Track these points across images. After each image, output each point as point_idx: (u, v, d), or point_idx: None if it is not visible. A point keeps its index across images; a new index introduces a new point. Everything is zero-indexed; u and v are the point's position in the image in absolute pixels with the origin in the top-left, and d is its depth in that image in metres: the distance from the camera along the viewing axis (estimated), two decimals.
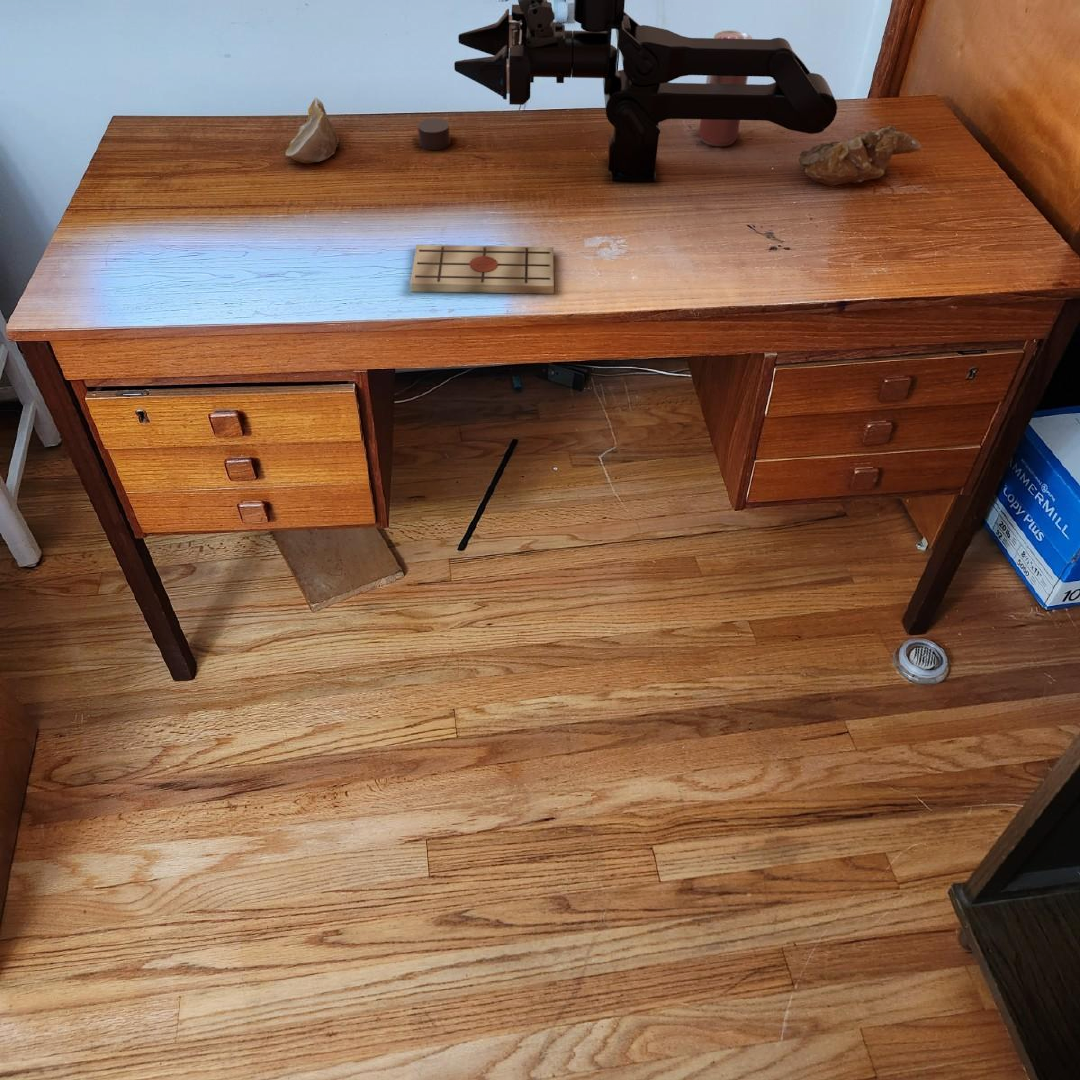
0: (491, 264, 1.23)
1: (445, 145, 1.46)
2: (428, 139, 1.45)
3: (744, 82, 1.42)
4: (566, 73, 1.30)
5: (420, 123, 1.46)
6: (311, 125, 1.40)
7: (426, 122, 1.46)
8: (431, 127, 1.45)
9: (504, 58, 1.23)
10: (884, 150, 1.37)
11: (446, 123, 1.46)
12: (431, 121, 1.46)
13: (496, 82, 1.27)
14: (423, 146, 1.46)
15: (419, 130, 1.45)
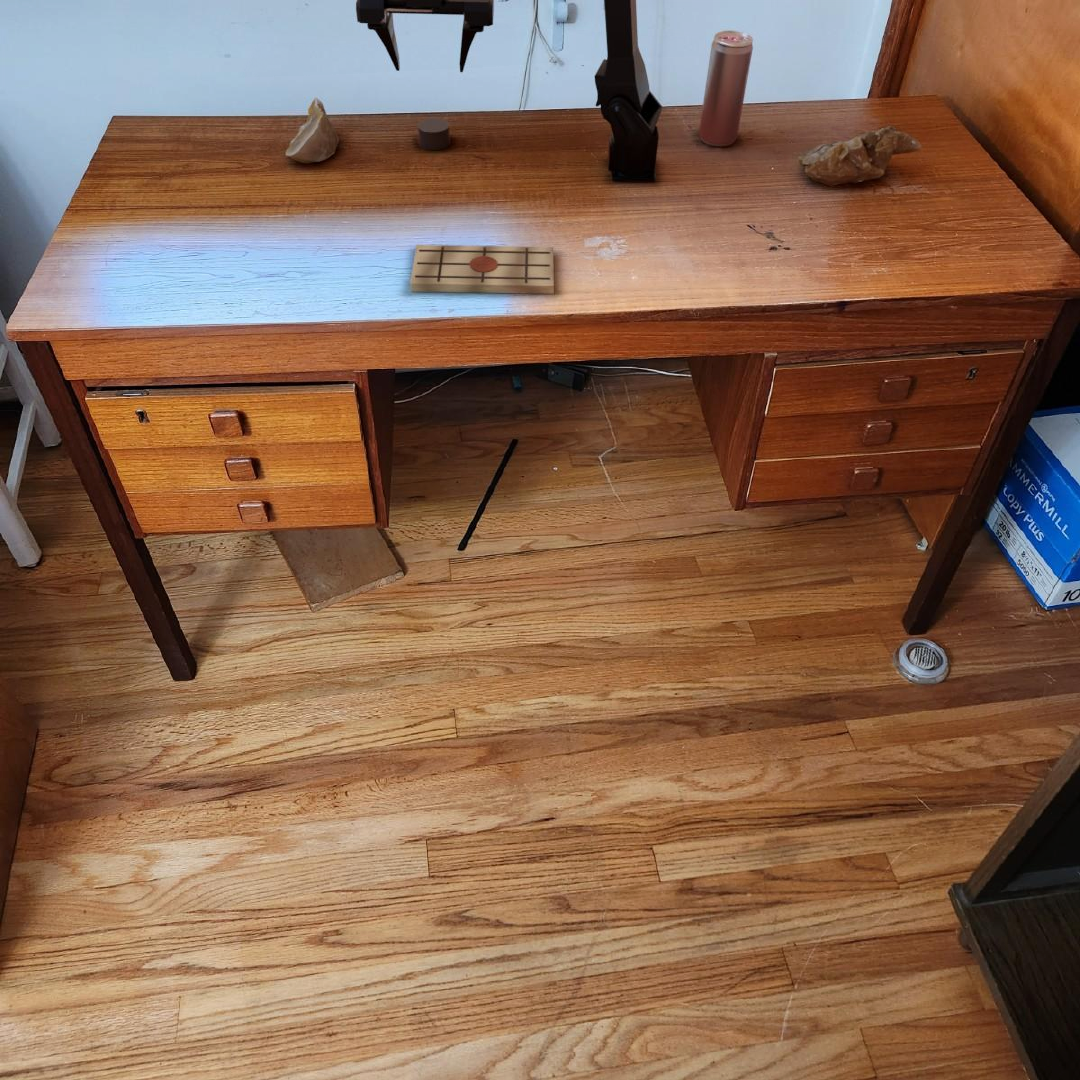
0: (491, 264, 1.23)
1: (445, 145, 1.46)
2: (428, 139, 1.45)
3: (744, 82, 1.42)
4: None
5: (420, 123, 1.46)
6: (311, 125, 1.40)
7: (426, 122, 1.46)
8: (431, 127, 1.45)
9: None
10: (884, 150, 1.37)
11: (446, 123, 1.46)
12: (431, 121, 1.46)
13: None
14: (423, 146, 1.46)
15: (419, 130, 1.45)
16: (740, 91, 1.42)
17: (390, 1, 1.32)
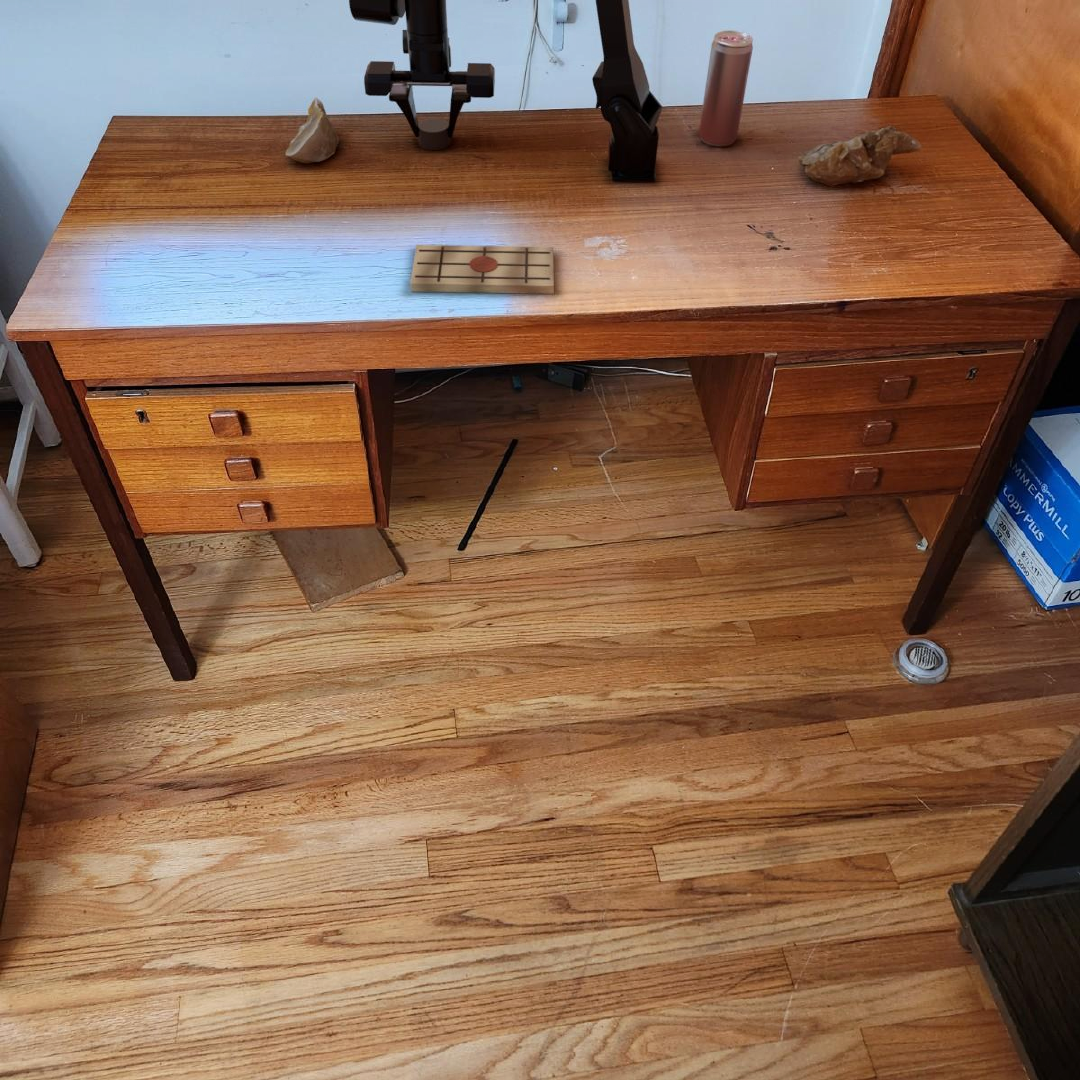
0: (491, 264, 1.23)
1: (445, 145, 1.46)
2: (428, 139, 1.45)
3: (744, 82, 1.42)
4: (409, 36, 1.34)
5: (420, 123, 1.46)
6: (311, 125, 1.40)
7: (426, 122, 1.46)
8: (431, 127, 1.45)
9: None
10: (884, 150, 1.37)
11: (446, 123, 1.46)
12: (431, 121, 1.46)
13: None
14: (423, 146, 1.46)
15: (419, 130, 1.45)
16: (740, 91, 1.42)
17: (396, 74, 1.39)
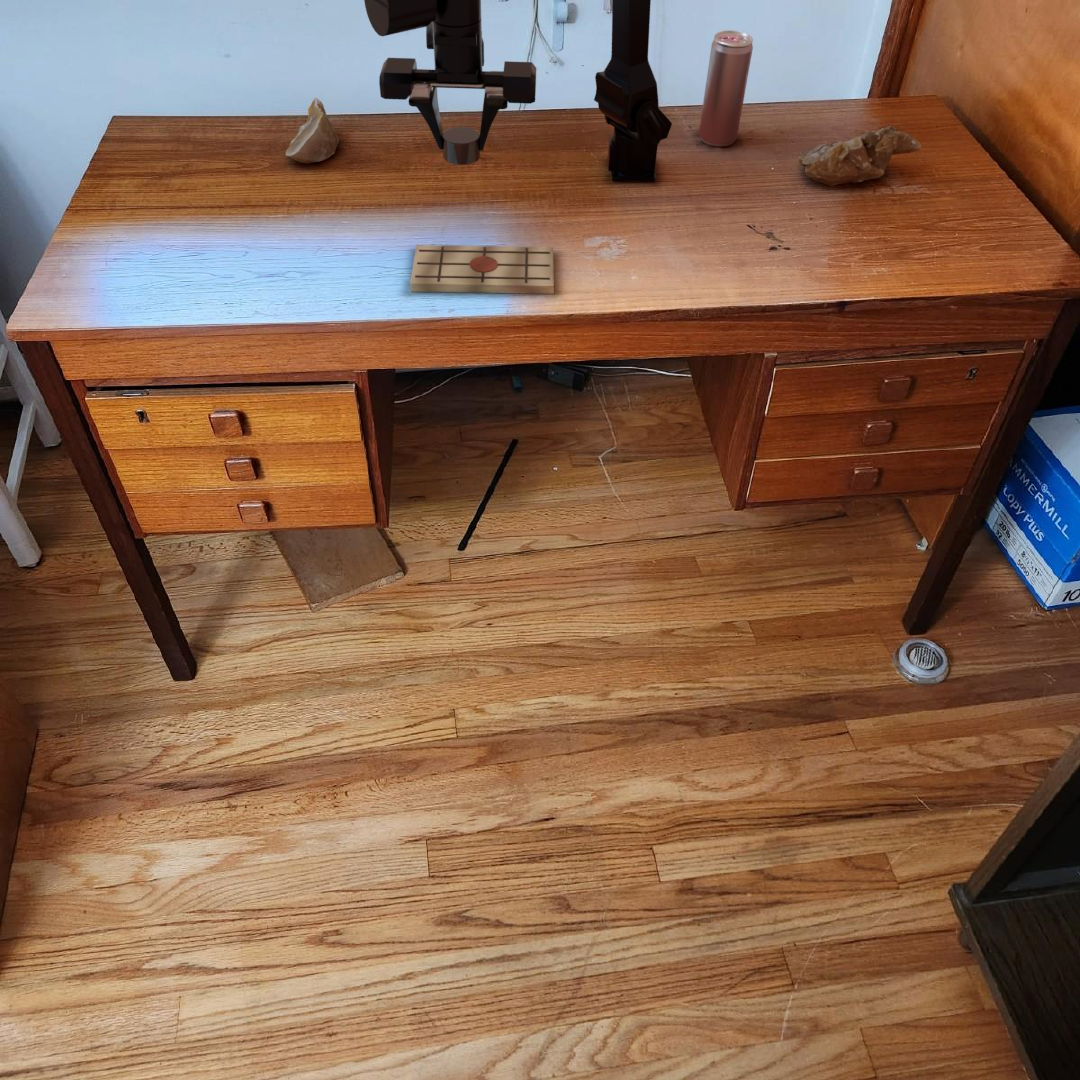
0: (491, 264, 1.23)
1: (474, 159, 1.22)
2: (454, 152, 1.21)
3: (744, 82, 1.42)
4: (435, 28, 1.11)
5: (445, 132, 1.22)
6: (311, 125, 1.40)
7: (452, 131, 1.22)
8: (458, 138, 1.21)
9: None
10: (884, 150, 1.37)
11: (476, 133, 1.22)
12: (458, 130, 1.22)
13: None
14: (448, 160, 1.22)
15: (444, 141, 1.21)
16: (740, 91, 1.42)
17: (418, 74, 1.15)
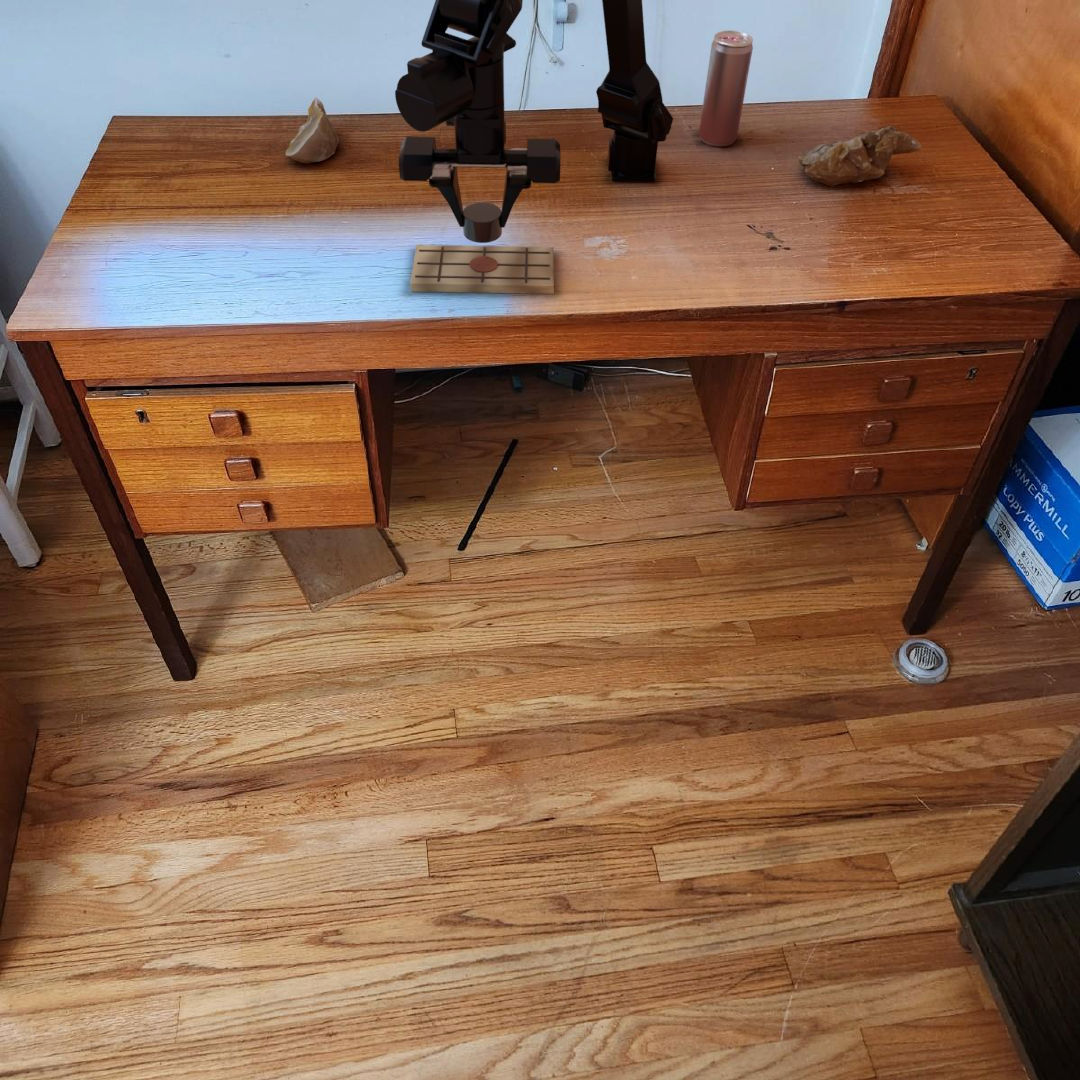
0: (491, 264, 1.23)
1: (496, 236, 1.18)
2: (476, 231, 1.17)
3: (744, 82, 1.42)
4: None
5: (466, 210, 1.18)
6: (311, 125, 1.40)
7: (473, 208, 1.18)
8: (479, 216, 1.17)
9: None
10: (884, 150, 1.37)
11: (498, 210, 1.18)
12: (479, 206, 1.18)
13: None
14: (469, 238, 1.18)
15: (465, 219, 1.17)
16: (740, 91, 1.42)
17: (439, 154, 1.12)
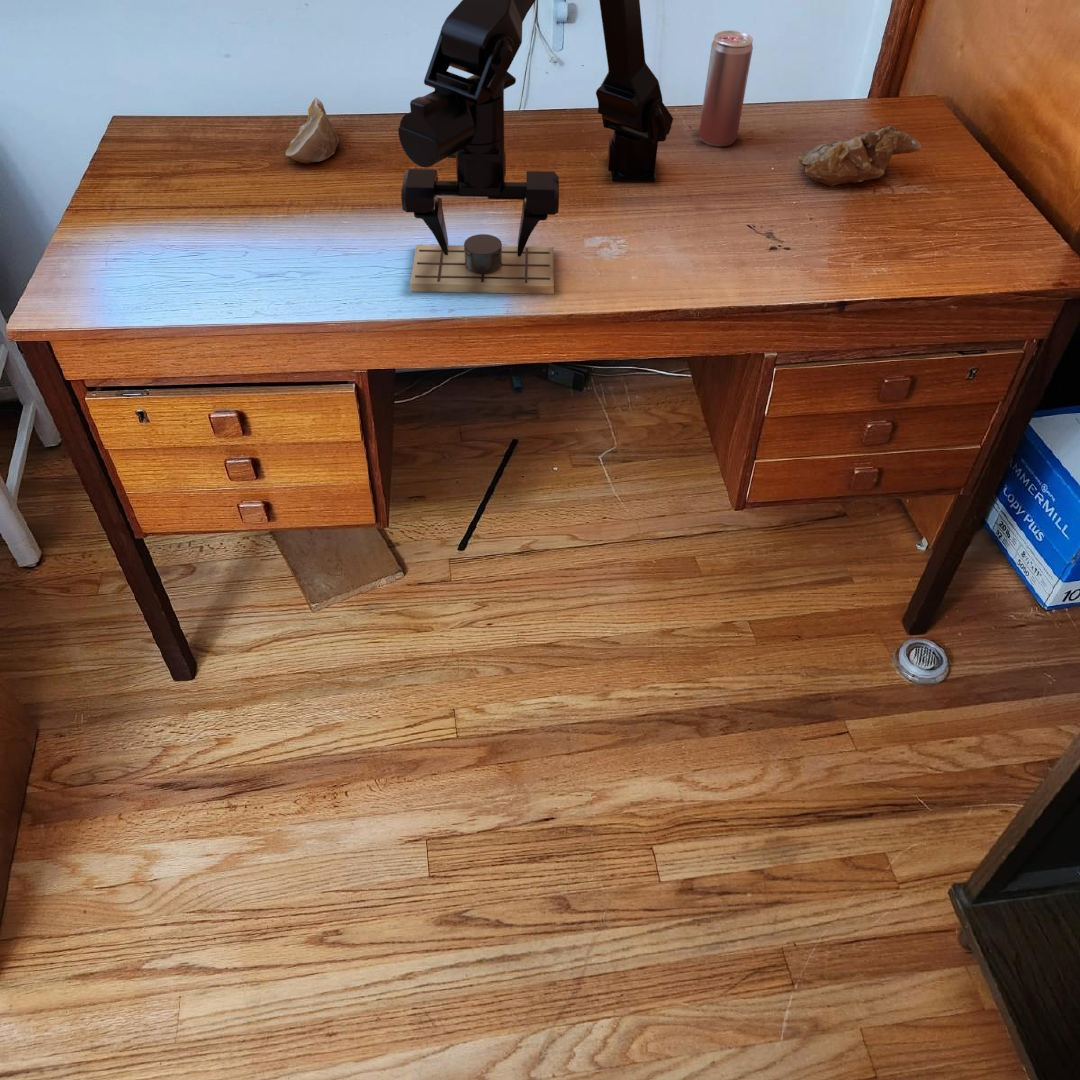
0: None
1: (497, 267, 1.22)
2: (477, 262, 1.20)
3: (744, 82, 1.42)
4: None
5: (467, 241, 1.21)
6: (311, 125, 1.40)
7: (474, 240, 1.21)
8: (480, 248, 1.20)
9: None
10: (884, 150, 1.37)
11: (498, 241, 1.21)
12: (480, 238, 1.22)
13: None
14: (470, 268, 1.21)
15: (466, 251, 1.20)
16: (740, 91, 1.42)
17: (440, 186, 1.14)
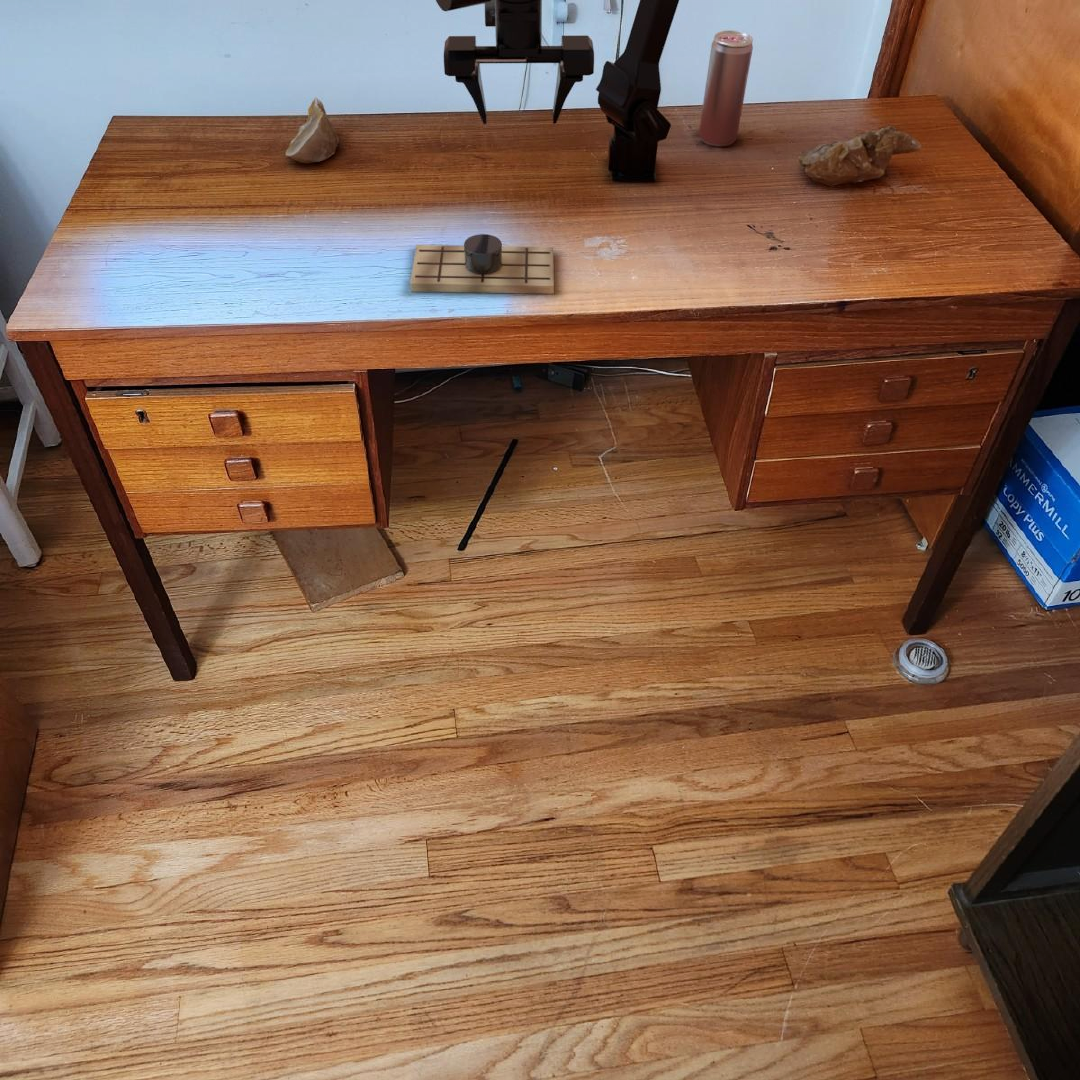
0: None
1: (497, 267, 1.22)
2: (477, 262, 1.20)
3: (744, 82, 1.42)
4: (498, 5, 1.15)
5: (467, 241, 1.21)
6: (311, 125, 1.40)
7: (474, 240, 1.21)
8: (480, 248, 1.20)
9: None
10: (884, 150, 1.37)
11: (498, 241, 1.21)
12: (480, 238, 1.22)
13: None
14: (470, 268, 1.21)
15: (466, 251, 1.20)
16: (740, 91, 1.42)
17: (480, 51, 1.20)
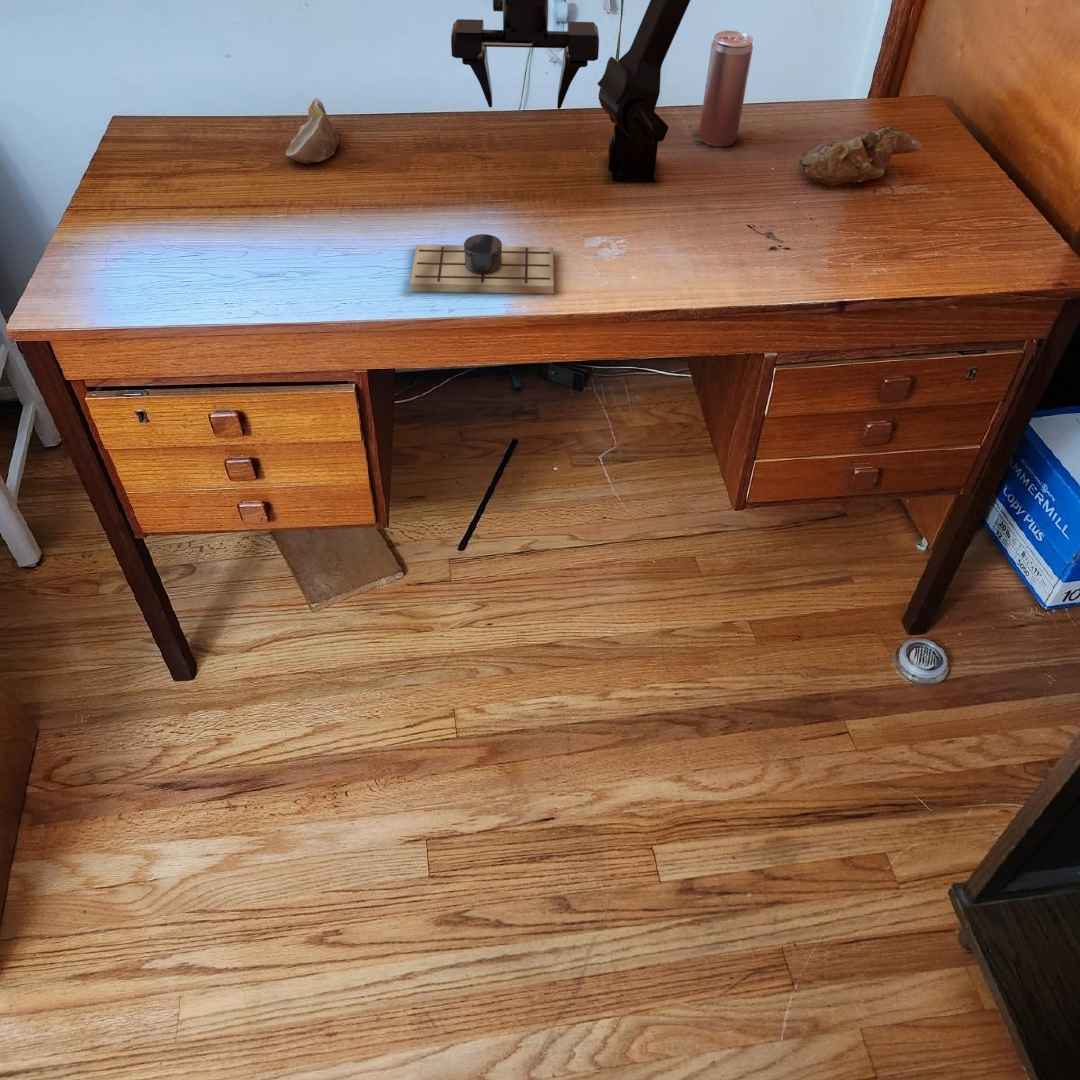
0: None
1: (497, 267, 1.22)
2: (477, 262, 1.20)
3: (744, 82, 1.42)
4: None
5: (467, 241, 1.21)
6: (311, 125, 1.40)
7: (474, 240, 1.21)
8: (480, 248, 1.20)
9: None
10: (884, 150, 1.37)
11: (498, 241, 1.21)
12: (480, 238, 1.22)
13: None
14: (470, 268, 1.21)
15: (466, 251, 1.20)
16: (740, 91, 1.42)
17: (487, 34, 1.22)
